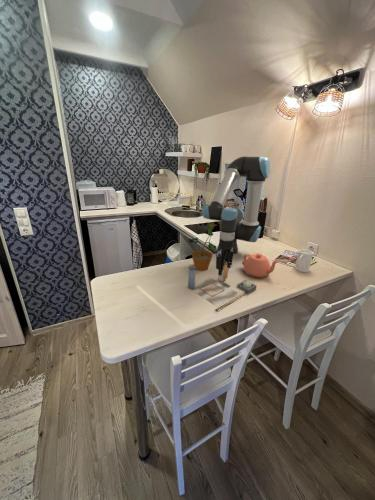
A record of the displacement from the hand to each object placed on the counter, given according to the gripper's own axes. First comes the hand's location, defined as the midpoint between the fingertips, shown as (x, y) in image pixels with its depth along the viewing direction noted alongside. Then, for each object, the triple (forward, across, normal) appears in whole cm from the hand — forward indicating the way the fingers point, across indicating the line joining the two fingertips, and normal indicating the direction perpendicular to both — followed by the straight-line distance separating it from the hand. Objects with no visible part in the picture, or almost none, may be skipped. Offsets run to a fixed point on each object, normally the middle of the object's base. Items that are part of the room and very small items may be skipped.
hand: (222, 278), depth 122 cm
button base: (+2, +4, -13) cm, 14 cm away
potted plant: (+2, +1, +18) cm, 18 cm away
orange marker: (+2, 0, 0) cm, 2 cm away
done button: (+1, +4, -13) cm, 14 cm away
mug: (+2, +50, -21) cm, 54 cm away
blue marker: (+1, -19, +5) cm, 20 cm away
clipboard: (+2, -12, -4) cm, 13 cm away
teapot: (+2, +24, -7) cm, 25 cm away
